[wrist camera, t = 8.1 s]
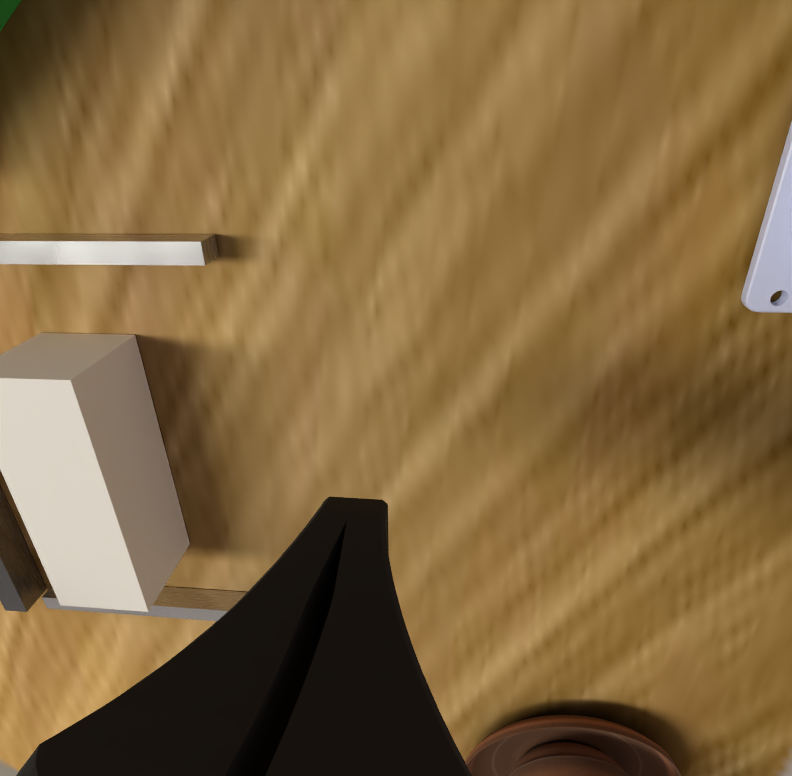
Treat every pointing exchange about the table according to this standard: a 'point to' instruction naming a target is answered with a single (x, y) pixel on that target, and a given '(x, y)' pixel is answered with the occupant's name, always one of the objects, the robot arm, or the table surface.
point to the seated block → (90, 468)
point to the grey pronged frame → (3, 541)
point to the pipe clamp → (7, 10)
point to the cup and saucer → (568, 750)
